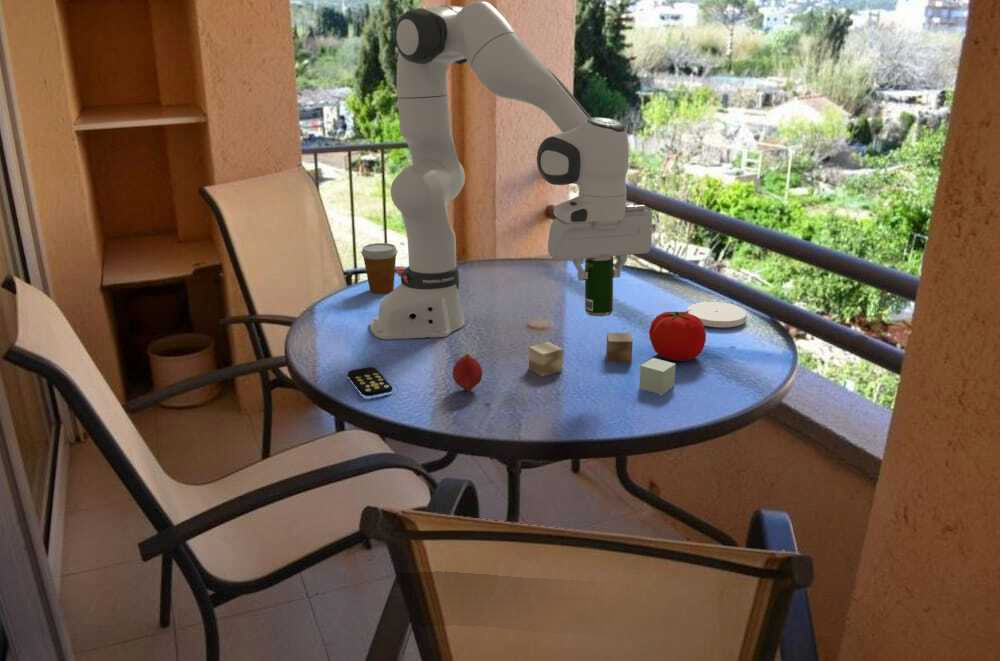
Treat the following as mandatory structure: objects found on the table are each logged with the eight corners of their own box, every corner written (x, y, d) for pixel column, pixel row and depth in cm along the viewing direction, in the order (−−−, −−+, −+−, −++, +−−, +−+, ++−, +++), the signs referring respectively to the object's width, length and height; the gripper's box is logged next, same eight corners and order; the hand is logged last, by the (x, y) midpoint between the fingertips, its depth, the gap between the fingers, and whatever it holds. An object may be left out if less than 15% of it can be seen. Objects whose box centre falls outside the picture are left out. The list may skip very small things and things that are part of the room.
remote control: (374, 373, 175) (374, 364, 174) (395, 396, 164) (394, 387, 163) (346, 378, 172) (345, 369, 172) (364, 402, 162) (363, 393, 161)
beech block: (542, 376, 171) (542, 354, 170) (528, 368, 175) (529, 346, 174) (562, 371, 174) (562, 349, 172) (548, 363, 178) (548, 341, 176)
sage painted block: (661, 395, 163) (663, 371, 161) (639, 388, 166) (640, 365, 164) (674, 386, 166) (675, 363, 165) (651, 380, 169) (653, 357, 167)
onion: (447, 390, 165) (445, 352, 163) (468, 381, 169) (467, 345, 166) (467, 399, 162) (466, 361, 159) (488, 390, 165) (488, 352, 162)
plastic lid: (757, 322, 201) (758, 312, 200) (721, 335, 193) (722, 325, 192) (710, 307, 211) (711, 298, 210) (673, 319, 203) (674, 310, 202)
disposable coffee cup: (360, 287, 228) (357, 244, 224) (394, 283, 231) (392, 241, 227) (368, 297, 220) (365, 253, 216) (403, 293, 223) (401, 249, 219)
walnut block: (607, 363, 178) (608, 341, 176) (606, 354, 182) (607, 332, 181) (631, 363, 178) (632, 341, 176) (629, 354, 182) (630, 333, 180)
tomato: (711, 353, 182) (715, 308, 179) (694, 371, 173) (697, 325, 169) (658, 343, 188) (661, 299, 184) (639, 360, 179) (642, 315, 175)
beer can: (600, 318, 160) (601, 256, 157) (579, 313, 164) (579, 253, 161) (618, 312, 164) (619, 252, 160) (597, 308, 168) (597, 249, 164)
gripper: (645, 200, 163) (640, 269, 168) (545, 207, 157) (544, 278, 162) (660, 207, 157) (655, 278, 162) (557, 214, 152) (555, 287, 156)
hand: (598, 278), depth 162 cm, fingers closed on beer can, 5 cm apart
